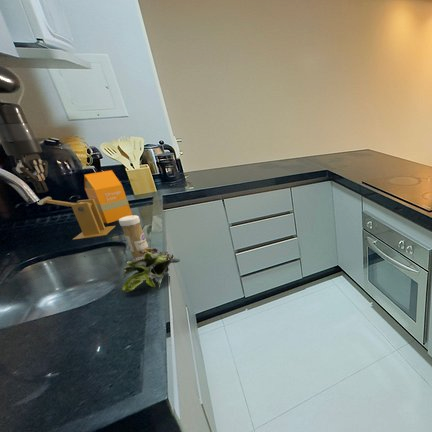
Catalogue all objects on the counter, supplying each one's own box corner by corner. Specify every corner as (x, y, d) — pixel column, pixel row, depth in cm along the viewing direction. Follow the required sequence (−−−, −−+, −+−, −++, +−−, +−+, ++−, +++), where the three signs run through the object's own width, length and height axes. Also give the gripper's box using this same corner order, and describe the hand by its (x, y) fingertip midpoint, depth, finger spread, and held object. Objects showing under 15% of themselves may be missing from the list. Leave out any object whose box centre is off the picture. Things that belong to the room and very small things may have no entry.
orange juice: (133, 218, 122) (117, 170, 115) (108, 225, 115) (88, 175, 108) (123, 215, 125) (106, 169, 118) (97, 222, 118) (78, 173, 111)
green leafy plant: (163, 293, 83) (180, 251, 85) (170, 303, 75) (189, 258, 77) (111, 286, 75) (132, 241, 77) (114, 297, 67) (136, 247, 69)
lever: (36, 205, 96) (37, 199, 96) (46, 201, 100) (46, 194, 100) (86, 212, 102) (86, 206, 101) (92, 208, 106) (93, 202, 105)
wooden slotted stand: (73, 242, 101) (58, 207, 97) (86, 232, 109) (72, 199, 105) (106, 237, 105) (93, 203, 100) (116, 228, 112) (104, 196, 108)
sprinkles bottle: (149, 259, 90) (135, 218, 85) (131, 263, 88) (115, 221, 83) (153, 253, 93) (139, 213, 89) (135, 256, 92) (120, 216, 87)
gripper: (16, 137, 95) (40, 188, 102) (-16, 141, 84) (13, 199, 90) (47, 135, 98) (68, 185, 104) (20, 140, 87) (46, 196, 93)
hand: (43, 192), depth 97 cm, fingers closed
